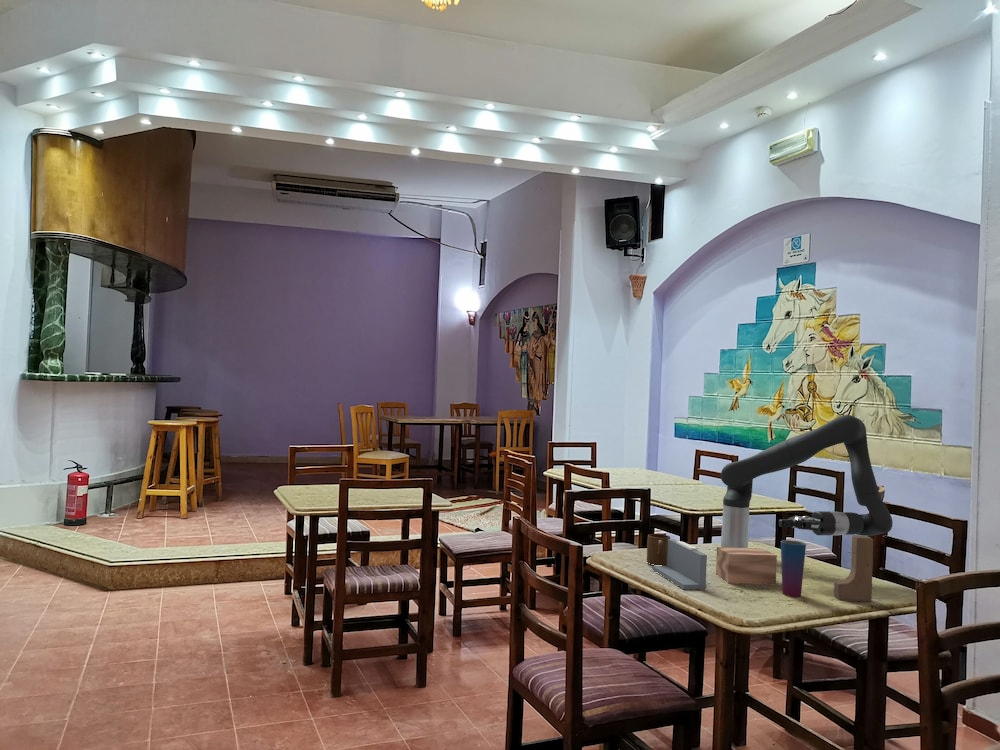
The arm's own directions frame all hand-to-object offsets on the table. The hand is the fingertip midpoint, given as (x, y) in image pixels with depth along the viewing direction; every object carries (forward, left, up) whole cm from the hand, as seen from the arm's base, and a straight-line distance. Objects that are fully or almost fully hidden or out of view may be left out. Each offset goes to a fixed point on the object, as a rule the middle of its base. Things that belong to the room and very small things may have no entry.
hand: (780, 523), depth 228 cm
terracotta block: (0, -11, -18) cm, 21 cm away
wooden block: (+22, +10, -18) cm, 30 cm away
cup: (+17, -6, -18) cm, 25 cm away
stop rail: (0, -34, -18) cm, 38 cm away
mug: (-18, -32, -18) cm, 41 cm away
